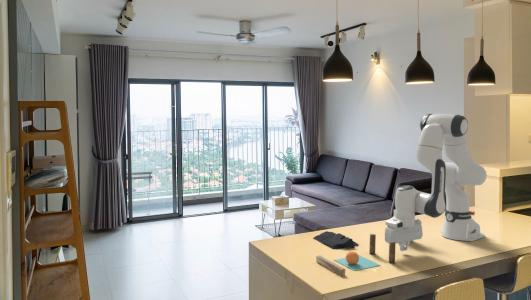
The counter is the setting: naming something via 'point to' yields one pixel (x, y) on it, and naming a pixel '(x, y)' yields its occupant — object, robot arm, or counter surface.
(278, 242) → the counter surface
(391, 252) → the post
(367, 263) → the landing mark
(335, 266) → the rail
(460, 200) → the robot arm
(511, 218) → the counter surface
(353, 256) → the ball
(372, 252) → the post
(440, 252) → the counter surface
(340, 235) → the dark slate chunk
